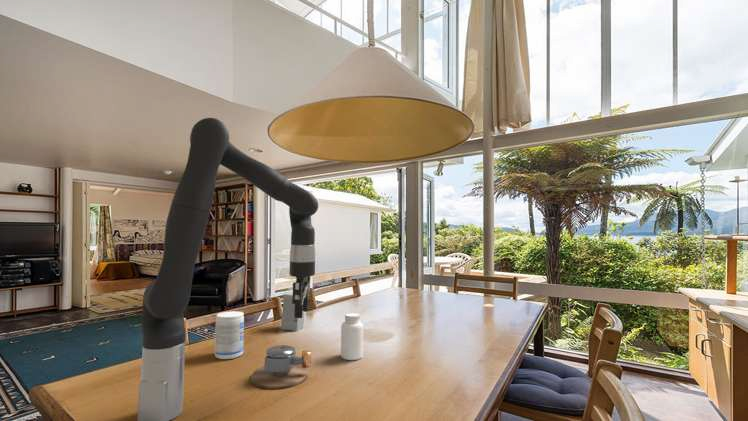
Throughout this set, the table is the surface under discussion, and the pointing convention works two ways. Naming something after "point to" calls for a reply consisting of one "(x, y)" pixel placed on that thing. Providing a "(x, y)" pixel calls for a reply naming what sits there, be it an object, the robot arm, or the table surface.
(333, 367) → the table surface
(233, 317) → the supplement tub
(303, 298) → the robot arm
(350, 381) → the table surface
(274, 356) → the coupling
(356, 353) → the pill bottle
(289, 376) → the post base
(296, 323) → the skincare box
